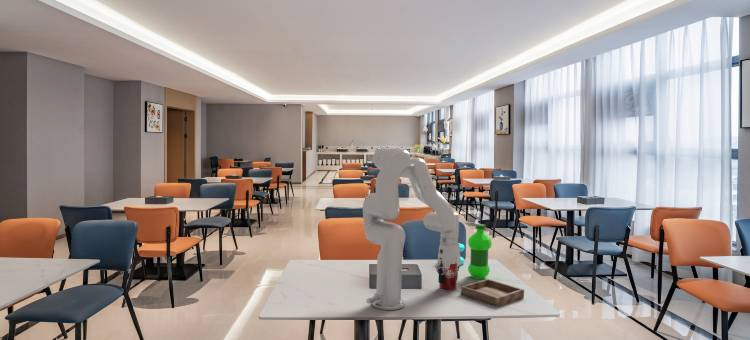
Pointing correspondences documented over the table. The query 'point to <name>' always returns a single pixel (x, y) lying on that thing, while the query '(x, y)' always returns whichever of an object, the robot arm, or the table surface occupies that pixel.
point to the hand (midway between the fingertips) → (448, 281)
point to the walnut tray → (492, 292)
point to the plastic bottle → (479, 253)
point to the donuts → (461, 251)
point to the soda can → (449, 278)
